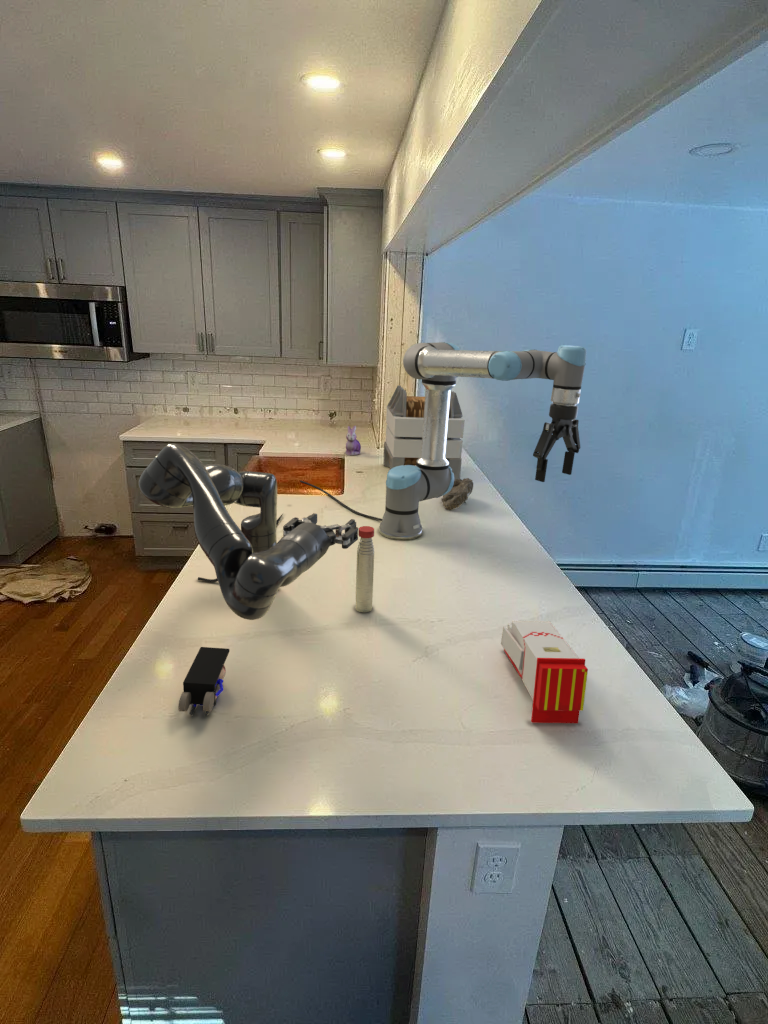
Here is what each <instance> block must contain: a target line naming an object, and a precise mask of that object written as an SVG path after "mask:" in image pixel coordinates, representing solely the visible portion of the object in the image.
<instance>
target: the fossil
mask: <svg viewBox="0 0 768 1024" xmlns="http://www.w3.org/2000/svg"><path fill="white" fill-rule="evenodd" d="M473 490H474V482H473V480H472V479H470V478H469V477H467V478H460V479H454V484H453V487H452V489H451V490H450V491H449V492H448V493H447V494H445V495H443V496H442V498H441V499H440V501H441V502H442V506H443V507H444V508H445V510H449V511H452V510H455V509H458V508H460V507H461V506H462V505H463V504H467V502H466V501H467V500H469V497H470V495H471V494H472V493H473Z"/></svg>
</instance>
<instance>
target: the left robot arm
mask: <svg viewBox="0 0 768 1024" xmlns="http://www.w3.org/2000/svg"><path fill="white" fill-rule="evenodd" d="M138 488H139V490H140V492H141V494H142V495H143V496H144V497H145V498H146V499H147V500H149V501H150V502H152V503H153V504H156V505H158V506H160V507H163V508H169V509H181V508H186V507H191V506H192V508H193V509H192V513H193V515H192V517H193V529H194V530H193V531H194V534H195V535H194V536H195V539H196V542H197V544H199V547H200V548H201V550H202V551H203V553H204V554H205V556H206V557H207V559H208V561H209V562H210V563H211V565H212V566H213V568H214V572H215V576H216V578H213V579H210V578H206V577H205V578H204V577H200V576H199V577H197V581H202V582H205V583H217V582H218V585H219V588H220V591H221V594H222V597H223V600H224V602H225V603H226V605H227V607H228V608H229V609H230V611H232V613H234V614H235V615H236V616H238V617H240V618H242V619H244V620H248V621H256V620H259V619H262V618H263V617H264V616H265V615H266V614H267V613H268V612H269V610H270V609H271V606H272V604H273V602H274V600H275V598H276V596H277V594H278V592H279V590H280V588H284V587H287V586H289V585H290V584H292V583H293V582H295V581H296V580H297V579H298V578H299V577H300V576H301V575H302V574H303V573H305V572H307V571H309V570H310V568H312V567H313V566H314V565H315V564H316V563H317V562H318V561H320V560H321V559H322V557H324V556H325V555H326V553H327V552H328V550H329V548H330V547H333V546H335V545H336V544H337V545H341V549H344V550H347V549H348V548H350V547H351V546H352V545H354V544H355V543H356V542H357V541H358V540H359V535H358V533H359V527H358V526H357V521H356V519H354V518H351V519H350V520H348V521H347V522H346V523H345V524H343V525H340V524H338V523H336V524H331V525H321V524H318V513H314V512H313V513H311V514H310V515H308V516H306V517H302V518H301V519H299V517H292V518H291V519H290V520H288V522H287V523H285V524H284V525H283V526H282V534H283V535H282V537H281V538H280V539H279V540H278V539H277V526H276V521H277V520H278V481H277V477H276V476H275V475H274V474H273V473H269V472H260V471H249V470H248V471H247V470H243V471H238V470H236V469H235V468H233V467H231V466H228V465H225V464H219V463H209V464H204V462H203V461H201V459H200V458H199V457H198V455H196V454H195V453H193V452H192V451H191V450H189V448H187V447H185V446H183V445H181V444H178V443H174V442H172V443H168V444H166V445H165V446H164V447H163V448H162V449H161V450H159V452H158V453H157V454H156V456H155V457H154V458H153V459H152V460H151V461H150V463H149V464H148V465H147V466H146V467H145V469H144V470H143V471H142V473H141V474H140V476H139V479H138ZM233 504H237V505H239V506H241V507H250V508H259V513H256V514H252V515H248V516H246V517H244V518H243V519H242V520H241V522H240V527H239V526H238V525H237V524H236V522H235V521H234V519H233V518H232V516H231V515H230V513H229V511H228V509H227V507H226V506H231V505H233ZM343 531H344V532H343ZM277 540H278V541H277Z"/></svg>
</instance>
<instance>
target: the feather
mask: <svg viewBox="0 0 768 1024" xmlns="http://www.w3.org/2000/svg"><path fill="white" fill-rule="evenodd" d="M283 515H284V513H282V514H281V515H280V516H279V517H277V520H276V527H277V526H278V525H279V522H280V520H281V519H282V517H283Z"/></svg>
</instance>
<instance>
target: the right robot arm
mask: <svg viewBox="0 0 768 1024" xmlns="http://www.w3.org/2000/svg"><path fill="white" fill-rule="evenodd" d="M586 361H587V348H585V347H584V346H580V345H559V346H558V349H557V351H555V352H554V351H546V350H539V349H523V350H512V351H511V350H468V349H467V350H464V349H460V347H459V346H458V345H457V344H455V343H451V342H445V341H444V342H442V341H441V342H440V341H439V342H438V341H437V342H417V343H415V344H412V345H411V346H410V347H408V348H407V350H406V351H405V353H404V355H403V359H402V364H403V369H404V371H405V372H406V374H407V375H408V376H410V377H411V378H412V379H416V380H421V385H422V386H423V387H424V388H425V393H424V397H425V406H424V421H423V435H422V450H421V457H420V458H418V459H417V461H416V466H413V465H401V466H396V467H394V468H392V469H390V468H389V470H388V472H387V474H386V479H385V504H384V505H385V507H384V508H385V509H384V513H383V515H382V518H380V517H376V516H373V515H369V514H365V513H362V512H359V511H357V510H355V509H353V508H351V507H350V506H348V505H346V504H345V503H343V502H342V501H340V500H339V499H337V498H336V497H335V496H334V495H332V494H331V493H329V492H327V491H326V490H325V489H322V488H320V487H318V486H317V485H314V484H312V483H310V482H306V481H304V480H299V483H301V484H304V485H307V486H310V487H311V488H312V487H313V488H314V489H316V490H318V491H319V492H322V493H324V494H325V495H328V497H330V498H331V499H332V500H334V501H336V502H337V503H338V504H339V505H341V506H343V507H344V508H346V509H347V510H349V511H350V512H352V513H353V514H356V515H358V516H361V517H364V518H369V519H372V520H375V521H379V526H378V533H379V534H380V535H381V536H382V537H385V538H387V539H389V540H395V541H410V540H415V539H418V538H420V537H421V536H422V535H423V525H422V524H421V518H420V515H419V507H420V506H419V505H420V502H423V501H427V500H431V499H437V498H440V497H443V495H445V494H447V493H448V492H449V491H450V490H451V489H452V487H453V484H454V473H452V469H451V467H450V466H449V462H448V461H447V459H446V458H445V454H446V442H447V430H448V418H449V406H450V394H451V391H452V389H453V388H455V386H456V385H457V378H458V377H459V378H473V379H474V378H477V379H491V380H492V379H493V380H496V381H502V382H507V381H514V380H530V379H541V380H550V381H552V390H551V396H550V401H551V403H550V405H549V412H548V416H549V417H550V418H551V422H546V421H545V422H544V423H543V428H542V431H541V434H540V437H539V439H538V441H537V444H536V446H535V449H534V450H533V453H532V456H533V457H534V458H537V461H536V467H535V469H536V470H535V478H534V480H535V481H538V482H541V483H545V482H546V476H547V468H548V463H549V461H548V460H549V459H548V456H549V454H550V452H551V451H552V449H553V448H554V445H555V444H556V443H557V441H559V440H560V439H561V438H562V439H563V442H564V445H565V448H566V450H567V451H565V452H564V456H563V463H562V468H561V469H562V470H561V474H564V475H568V476H571V475H572V472H573V466H574V461H575V460H574V459H575V454H579V452H580V450H581V441H580V431H579V422H580V421H579V419H577V418H578V412H579V406H578V404H579V403H580V397H581V396H582V395H581V393H582V392H581V391H582V385H583V379H584V373H585V369H586V365H587V364H586Z"/></svg>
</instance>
